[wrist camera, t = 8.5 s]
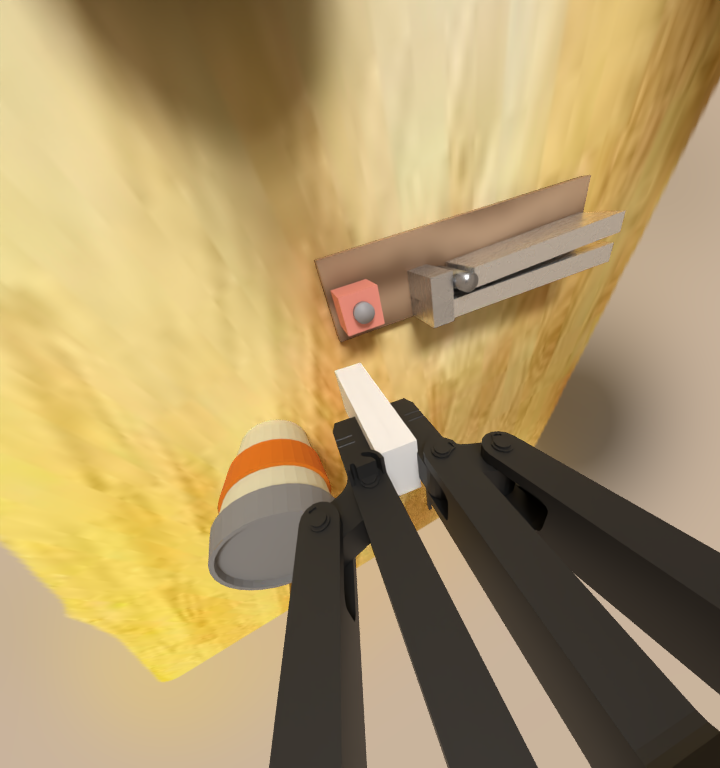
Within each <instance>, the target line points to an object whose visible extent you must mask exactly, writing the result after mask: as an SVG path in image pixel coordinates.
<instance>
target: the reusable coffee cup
mask: <svg viewBox="0 0 720 768" xmlns="http://www.w3.org/2000/svg"><path fill="white" fill-rule="evenodd" d="M334 499H335V498H334V497H333V496H332V495H331V486H330V482H329V480H328V478H327V475H326V473H325V470H324V468H323V466H322V463H321V461H320V459H319V457H318V455H317V453H316V452H315V451H314V450H313V448H311V445H310V443H309V441H308V438H307V436H306V434H305V432H304V430H303V429H302V428H301V427H300V426H298V425H297V424H295V423H293V422H290V421H286V420H270V421H265V422H262V423H260V424H257V425H256V426H254V427H252V428H251V429H250V430H249V431H248V432H247V433H246V434H245V436H244V437H243V439H242V442H241V445H240V448H239V451H238V454H237V457H236V458H235V459H234V461H233V462H232V464H231V466H230V468H229V471H228V474H227V477H226V480H225V483H224V486H223V489H222V492H221V495H220V498H219V502H218V513H219V515H218V516H217V517H216V519H215V520H214V523H213V525H212V527H211V531H210V542H209V561H208V567H209V571H210V574H211V575H212V577H213V578H214V579H215V580H216V581H217V582H219V583H220V584H222V585H224V586H227V587H230V588H234V589H239V590H263V589H269V588H275V587H279V586H283V585H286V584H289V583H292V576H293V568H294V560H295V552H296V543H297V535H298V527H299V522H300V519H301V516H302V515H303V513H304V512H305V510H306V509H307V508H309V507H310V506H311V505H312V504H315V503H318V502H329V503H330V502H332V501H333V500H334Z"/></svg>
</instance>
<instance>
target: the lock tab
mask: <svg viewBox="0 0 720 768" xmlns="http://www.w3.org/2000/svg"><path fill="white" fill-rule="evenodd" d="M330 291H331V295H332V298H333V302H334V305H335V308H336V312H337V315H338V318H339V322H340V325H341V327H342V328H343V330H344V331H345V332H346V334H347V335H348V336H352V335H355V334H357V333H360V332H363V331H366V330H369V329H371V328H374V327H377V326H380V325H383V324H385V322H384V317H383V312H382V307H381V301H380V296H379V291H378V286H377V284H375V283H373V282H371V281H369V280H367V279H364V280H361V281H358V282H355V283H352V284H349V285H346V286H343V287H340V288H336V289H333V290H330Z"/></svg>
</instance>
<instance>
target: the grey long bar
mask: <svg viewBox="0 0 720 768" xmlns="http://www.w3.org/2000/svg"><path fill="white" fill-rule="evenodd" d="M613 243H614V242H596V241H595V242H592V243H590V244H587V245H585V246H582V247H579V248H577V249H574V250H572V251H569V252H567V253H564V254H561V255H559V256H556V257H554V258H551V259H548V260H546V261H543V262H541V263H538V264H536V265H533V266H530V267H528V268H525V269H523V270H520V271H518V272H515V273H512V274H510V275H507V276H505V277H502V278H499V279H497V280H494V281H492V282H489V283H487V284H484V285H481V286H479V287H476V288H475V289H474V290H473V291H471V292H464V291H461V290H458V289H455V288H453V270H448V269H444V268H440V267H436V266H432V265H427V264H426V265H423V266H420V267H417V268H414V269H411V270H408V271H407V273H408V281H409V289H410V297H411V305H412V313H413V316H415V317H417V318H418V319H420V320H422V321H423V322H425V323H427V324H428V325H430V326H432V327H433V328H436V327H439V326H442V325H444V324H447V323H450V322H453V321H454V318H455V317H458V316H460V315H463V314H466V313H469V312H471V311H474V310H477V309H480V308H482V307H485V306H488V305H491V304H493V303H496V302H499V301H501V300H504V299H507V298H510V297H512V296H515V295H518V294H521V293H523V292H526V291H529V290H531V289H534V288H537V287H540V286H542V285H545V284H548V283H551V282H553V281H556V280H559V279H561V278H564V277H567V276H570V275H572V274H575V273H578V272H581V271H583V270H586V269H589V268H591V267H594V266H597V265H600V264H602V263H605V262H608V261H609V258H610V254H611V251H612V247H613Z"/></svg>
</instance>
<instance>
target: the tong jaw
mask: <svg viewBox="0 0 720 768" xmlns="http://www.w3.org/2000/svg"><path fill="white" fill-rule="evenodd" d="M625 211H626V210H625ZM625 211H601V212H579V213H576V214H573V215H571V216H568V217H565V218H563V219H560V220H557V221H554V222H552V223H549V224H546V225H544V226H541V227H538V228H536V229H533V230H530V231H527V232H525V233H522V234H519V235H517V236H514V237H511V238H509V239H506V240H503V241H500V242H498V243H495V244H492V245H490V246H487V247H484V248H482V249H479V250H476V251H473V252H471V253H468V254H465V255H463V256H460V257H457V258H455V259H452V260H449V261H447V262H446V266H441V265H440V266H437V267H440V268H444V269H448V270H453V288H455V289H458V290H461V291H464V292H471V291H473V290H474V289H475V288H476V287H479V286H481V285H484V284H487V283H489V282H492V281H494V280H497V279H499V278H502V277H505V276H507V275H510V274H512V273H515V272H518V271H520V270H523V269H525V268H528V267H530V266H533V265H536V264H538V263H541V262H543V261H546V260H548V259H551V258H554V257H556V256H559V255H561V254H564V253H567V252H569V251H572V250H574V249H577V248H579V247H582V246H585V245H587V244H590V243H592V242H595V241H597V240H600V239H603V238H605V237H608V236H610V235H613V234H616V233H618V232H620V230H621V226H622V222H623V219H624V215H625Z"/></svg>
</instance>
